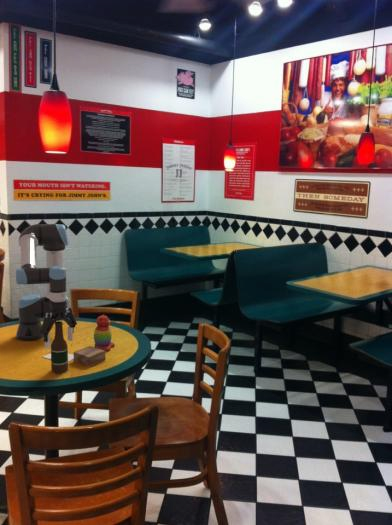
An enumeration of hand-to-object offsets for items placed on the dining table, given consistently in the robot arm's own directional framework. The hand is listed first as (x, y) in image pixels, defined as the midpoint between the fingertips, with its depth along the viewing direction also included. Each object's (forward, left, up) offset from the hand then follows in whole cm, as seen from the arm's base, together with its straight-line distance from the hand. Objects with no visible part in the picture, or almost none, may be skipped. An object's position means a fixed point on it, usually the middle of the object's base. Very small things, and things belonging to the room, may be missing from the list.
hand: (59, 344), depth 238 cm
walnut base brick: (+1, +18, -13) cm, 22 cm away
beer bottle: (0, 0, -13) cm, 13 cm away
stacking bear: (-6, +35, -14) cm, 38 cm away
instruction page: (-13, +12, -13) cm, 22 cm away
